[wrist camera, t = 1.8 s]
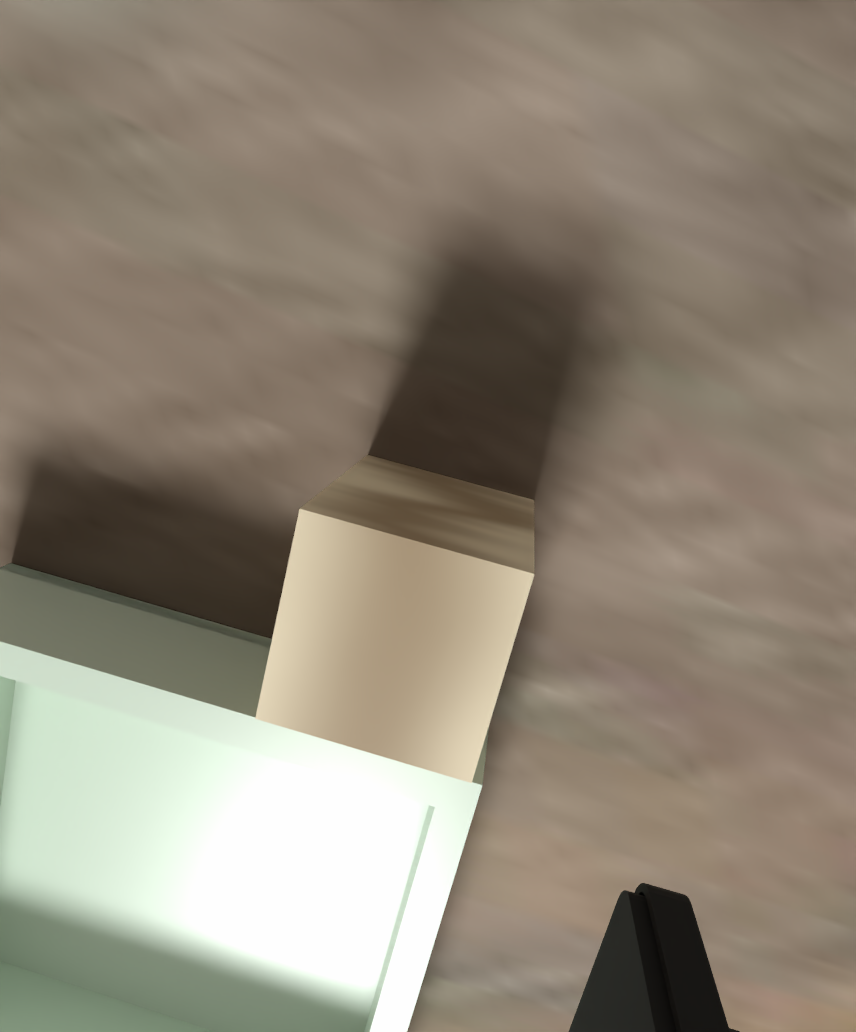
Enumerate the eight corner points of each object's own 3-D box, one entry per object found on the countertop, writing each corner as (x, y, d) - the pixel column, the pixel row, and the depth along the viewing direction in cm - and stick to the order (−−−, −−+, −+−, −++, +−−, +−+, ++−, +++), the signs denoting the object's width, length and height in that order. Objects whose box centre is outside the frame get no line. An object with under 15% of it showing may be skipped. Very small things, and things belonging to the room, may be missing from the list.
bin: (491, 702, 24) (482, 785, 20) (375, 1090, 28) (347, 1227, 24) (10, 562, 25) (-98, 612, 21) (-34, 956, 29) (-132, 1065, 25)
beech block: (534, 500, 23) (534, 573, 16) (488, 654, 24) (471, 783, 17) (368, 454, 23) (299, 508, 16) (332, 609, 24) (255, 718, 18)
